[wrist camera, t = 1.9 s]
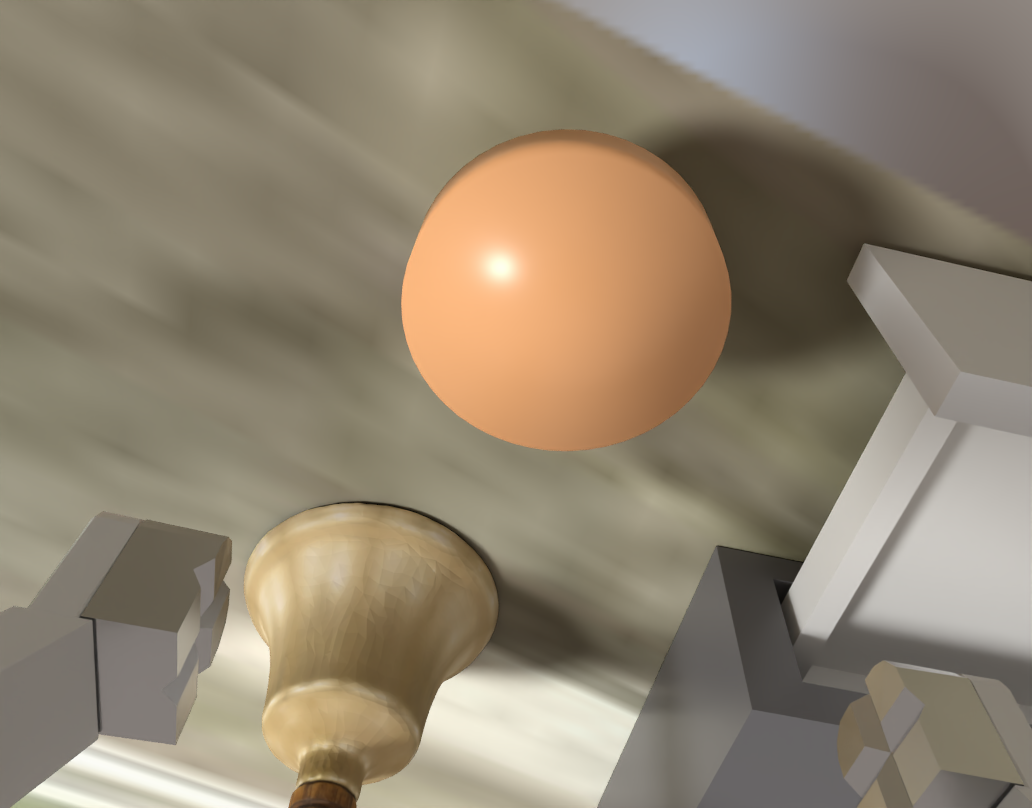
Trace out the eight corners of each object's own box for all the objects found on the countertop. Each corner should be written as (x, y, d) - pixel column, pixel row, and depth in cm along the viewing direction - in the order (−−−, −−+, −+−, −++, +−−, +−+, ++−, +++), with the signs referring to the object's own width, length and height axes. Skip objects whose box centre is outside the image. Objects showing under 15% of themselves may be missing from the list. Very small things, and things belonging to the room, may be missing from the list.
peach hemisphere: (439, 95, 16) (429, 117, 15) (764, 170, 17) (782, 199, 16) (393, 378, 20) (381, 418, 19) (665, 434, 20) (672, 476, 19)
